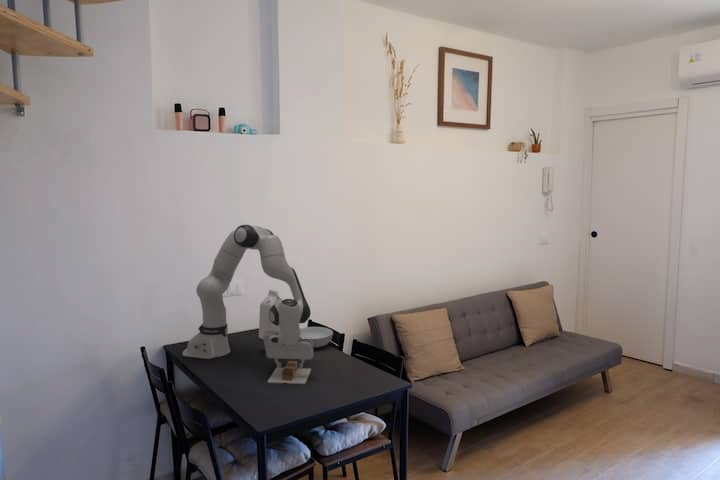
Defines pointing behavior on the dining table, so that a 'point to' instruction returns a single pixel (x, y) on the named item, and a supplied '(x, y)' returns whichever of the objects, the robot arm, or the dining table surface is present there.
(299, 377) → the mat
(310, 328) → the serving bowl
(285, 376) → the wooden block
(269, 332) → the dixie cup
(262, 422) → the dining table surface
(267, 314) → the milk
